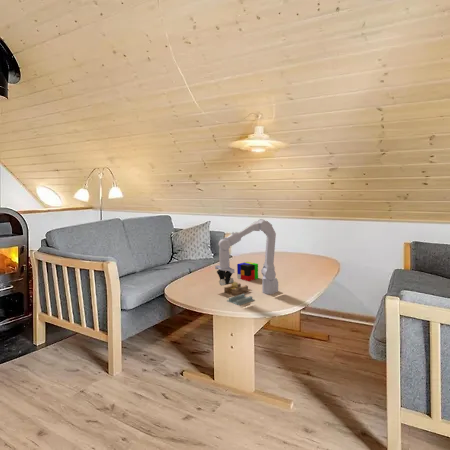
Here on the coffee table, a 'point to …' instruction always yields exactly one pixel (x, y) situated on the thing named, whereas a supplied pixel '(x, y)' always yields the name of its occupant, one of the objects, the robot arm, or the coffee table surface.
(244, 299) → the rack
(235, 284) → the tan blocky piece
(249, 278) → the puzzle toy
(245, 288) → the socket block
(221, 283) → the shiny metal cylinder
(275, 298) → the coffee table surface
